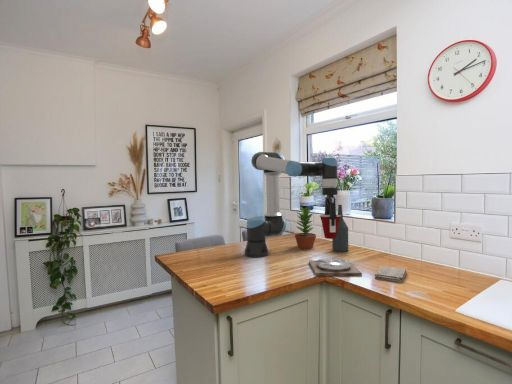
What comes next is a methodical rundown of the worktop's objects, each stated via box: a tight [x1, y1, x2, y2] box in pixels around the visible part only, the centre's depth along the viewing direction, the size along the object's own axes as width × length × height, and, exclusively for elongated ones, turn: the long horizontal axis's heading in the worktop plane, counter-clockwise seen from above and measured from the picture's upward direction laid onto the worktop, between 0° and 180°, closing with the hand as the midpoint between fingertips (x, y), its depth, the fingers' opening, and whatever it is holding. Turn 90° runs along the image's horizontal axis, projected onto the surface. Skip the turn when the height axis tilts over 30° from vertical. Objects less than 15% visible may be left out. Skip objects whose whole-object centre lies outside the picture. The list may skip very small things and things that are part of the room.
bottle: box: [331, 204, 349, 253], centre depth 189 cm, size 10×10×30 cm
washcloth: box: [374, 265, 407, 283], centre depth 138 cm, size 12×18×3 cm, turn 148°
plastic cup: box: [319, 214, 341, 240], centre depth 148 cm, size 11×11×12 cm
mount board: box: [308, 257, 363, 277], centre depth 149 cm, size 22×22×4 cm
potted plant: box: [294, 204, 317, 250], centre depth 198 cm, size 15×15×30 cm
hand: (330, 230), depth 148 cm, fingers closed on plastic cup, 10 cm apart
